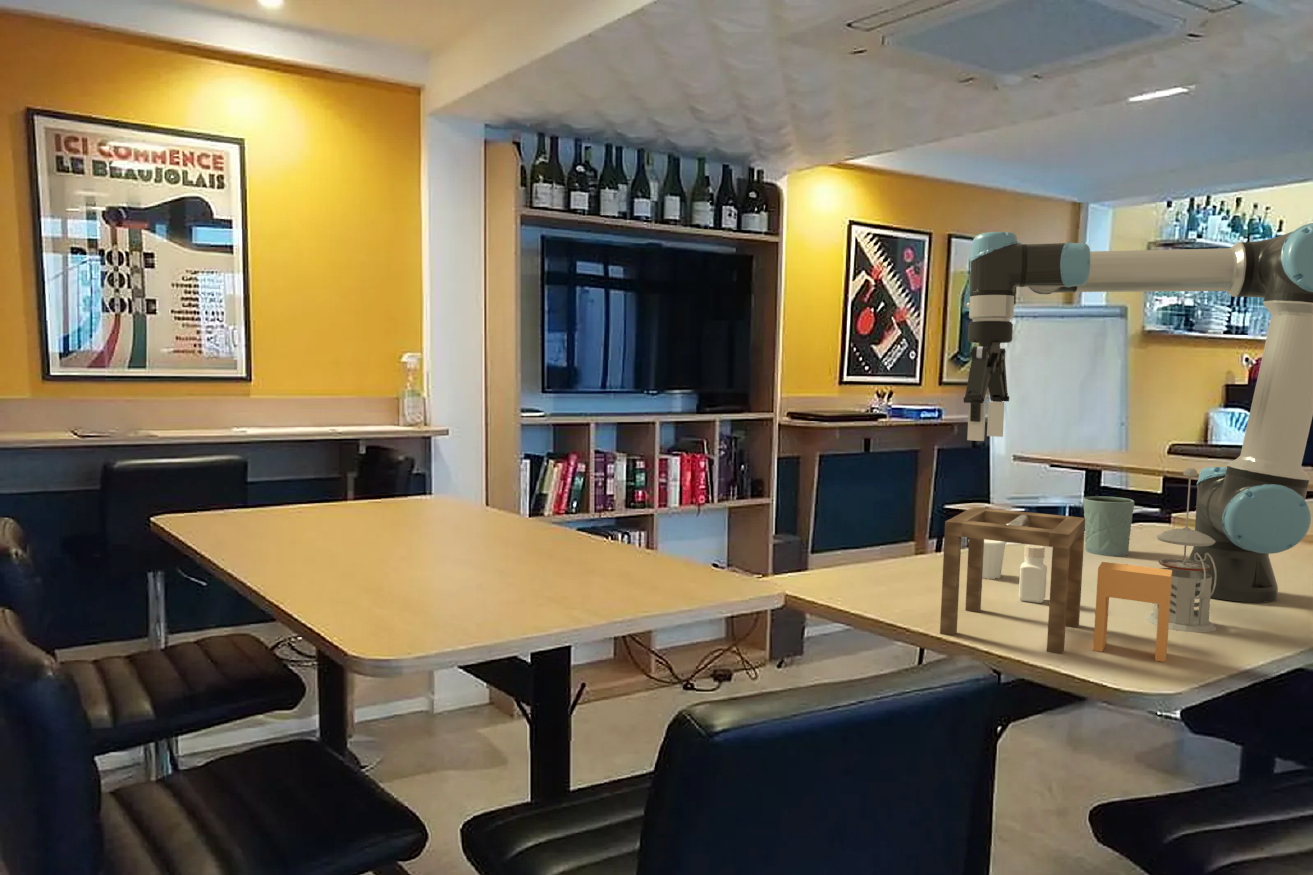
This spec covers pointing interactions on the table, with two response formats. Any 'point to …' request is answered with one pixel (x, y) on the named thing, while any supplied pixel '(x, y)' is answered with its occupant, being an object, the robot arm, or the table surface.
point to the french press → (1188, 579)
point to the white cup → (992, 558)
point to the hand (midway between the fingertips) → (985, 438)
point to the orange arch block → (1133, 598)
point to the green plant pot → (1107, 525)
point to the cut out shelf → (1025, 530)
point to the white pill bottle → (1033, 575)
